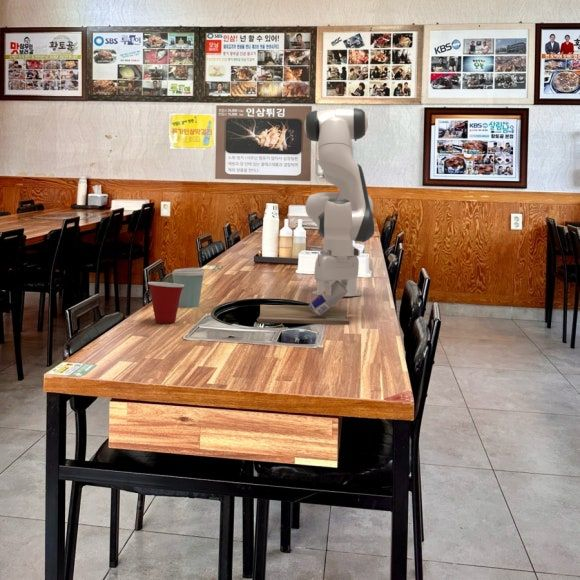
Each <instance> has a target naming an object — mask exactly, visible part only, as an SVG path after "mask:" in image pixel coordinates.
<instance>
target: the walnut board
mask: <svg viewBox="0 0 580 580" xmlns="http://www.w3.org/2000/svg"><path fill="white" fill-rule="evenodd" d="M259 307H260V308H259V310H260V311H259V315H258V319H257V321H258V323H268V324H269V323H275V324H309V325H310V324H317V325H320V324H321V325H350V323H351V321H350V319H349V317H348V306H332V307H331V308H330V309H329V310H328V311H326V312H325V313H324V314H323V315H322V316H321V317H318V316H317V315H316V314H315V313H314V312H313V311H312V310H311V309H310V307H309V305H282V304H281V305H277V304H276V305H275V304H274V305H272V304H270V305H269V304H260V305H259Z"/></svg>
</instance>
